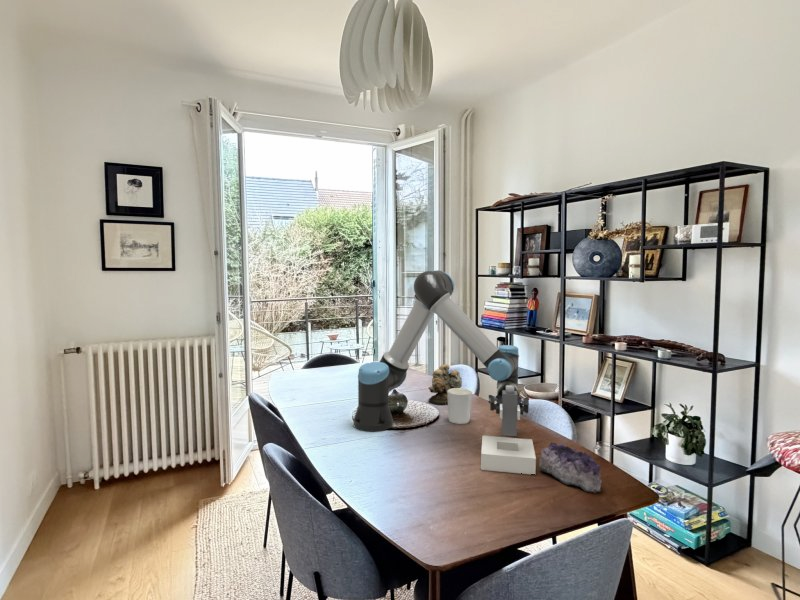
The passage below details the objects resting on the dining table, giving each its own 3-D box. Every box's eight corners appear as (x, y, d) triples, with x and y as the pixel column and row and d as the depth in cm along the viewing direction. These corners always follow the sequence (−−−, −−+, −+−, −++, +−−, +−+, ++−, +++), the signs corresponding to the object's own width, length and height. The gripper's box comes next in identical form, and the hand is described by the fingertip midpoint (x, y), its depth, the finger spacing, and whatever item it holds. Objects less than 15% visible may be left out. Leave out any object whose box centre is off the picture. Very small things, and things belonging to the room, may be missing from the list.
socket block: (480, 469, 145) (481, 453, 145) (482, 449, 161) (482, 435, 161) (535, 474, 142) (535, 458, 142) (531, 454, 158) (531, 439, 158)
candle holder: (470, 425, 186) (471, 395, 185) (445, 423, 188) (445, 393, 187) (472, 417, 195) (472, 388, 194) (447, 415, 197) (448, 387, 196)
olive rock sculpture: (435, 407, 209) (436, 368, 208) (422, 400, 219) (422, 363, 218) (469, 402, 217) (470, 365, 216) (454, 396, 228) (455, 360, 226)
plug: (501, 434, 149) (502, 387, 148) (501, 430, 154) (502, 384, 152) (516, 436, 148) (517, 388, 147) (516, 431, 153) (517, 384, 152)
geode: (615, 488, 135) (615, 455, 133) (588, 503, 129) (587, 468, 128) (558, 459, 152) (558, 430, 151) (532, 471, 147) (531, 441, 145)
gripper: (533, 406, 166) (539, 428, 144) (482, 403, 170) (480, 424, 147) (534, 385, 166) (540, 404, 143) (482, 382, 169) (480, 400, 147)
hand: (510, 414), depth 145 cm, fingers closed on plug, 4 cm apart
